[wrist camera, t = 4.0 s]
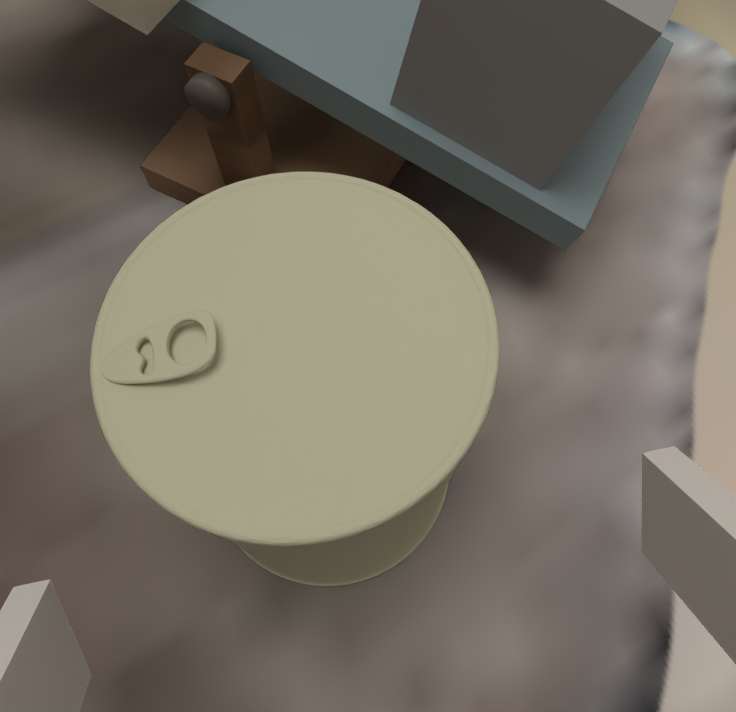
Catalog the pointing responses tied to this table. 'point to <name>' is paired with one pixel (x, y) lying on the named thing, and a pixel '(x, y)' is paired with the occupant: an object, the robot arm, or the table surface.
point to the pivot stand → (254, 134)
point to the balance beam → (458, 84)
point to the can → (298, 370)
